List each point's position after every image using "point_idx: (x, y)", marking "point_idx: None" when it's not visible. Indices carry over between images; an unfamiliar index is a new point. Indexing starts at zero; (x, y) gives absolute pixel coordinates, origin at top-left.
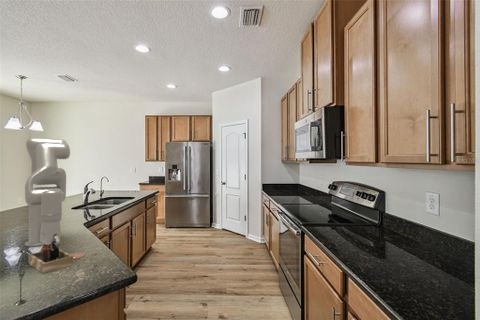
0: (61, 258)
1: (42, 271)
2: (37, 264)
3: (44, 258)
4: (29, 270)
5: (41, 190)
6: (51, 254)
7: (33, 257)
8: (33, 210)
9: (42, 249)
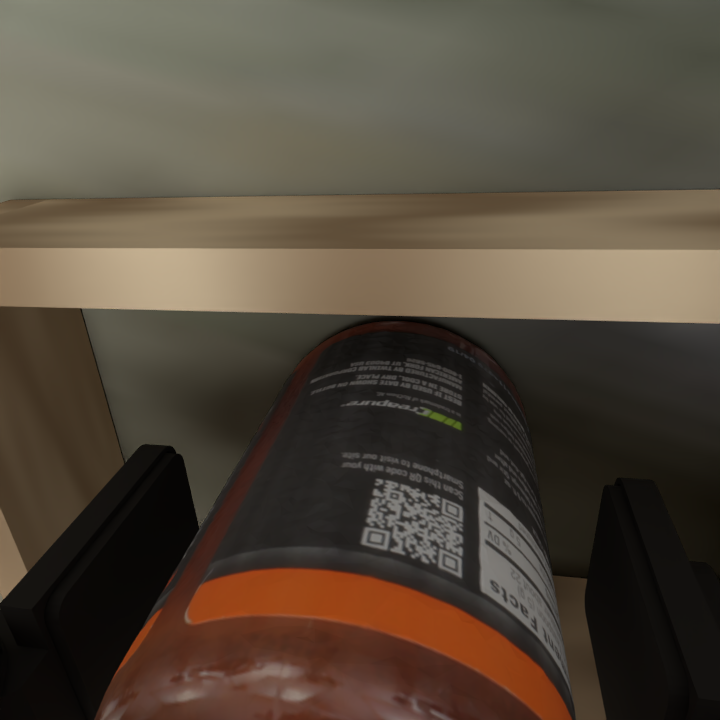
0: (13, 550)
1: (22, 206)
2: (251, 220)
3: (309, 403)
4: (370, 75)
5: None
6: (83, 535)
7: (586, 256)
8: None
9: (384, 567)
